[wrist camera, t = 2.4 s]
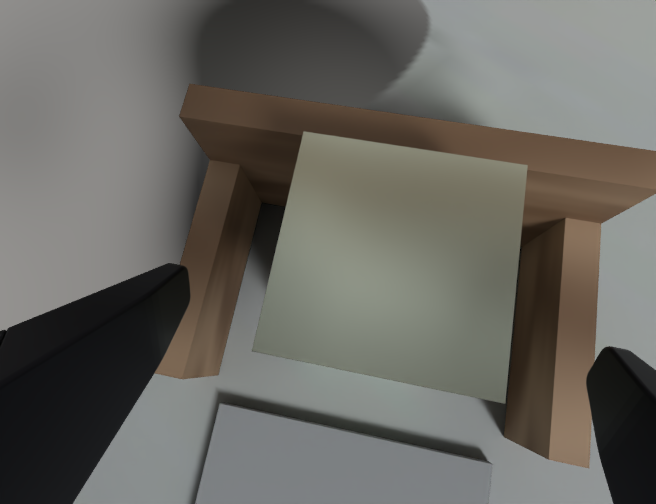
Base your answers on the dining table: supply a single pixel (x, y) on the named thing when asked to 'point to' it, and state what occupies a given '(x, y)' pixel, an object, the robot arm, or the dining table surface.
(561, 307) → the walnut u-shaped frame
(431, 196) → the sage block
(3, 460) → the robot arm
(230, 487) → the slate mat
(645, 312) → the dining table surface
